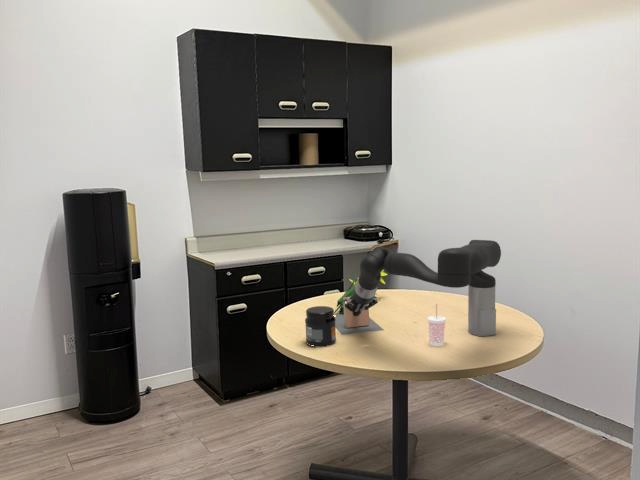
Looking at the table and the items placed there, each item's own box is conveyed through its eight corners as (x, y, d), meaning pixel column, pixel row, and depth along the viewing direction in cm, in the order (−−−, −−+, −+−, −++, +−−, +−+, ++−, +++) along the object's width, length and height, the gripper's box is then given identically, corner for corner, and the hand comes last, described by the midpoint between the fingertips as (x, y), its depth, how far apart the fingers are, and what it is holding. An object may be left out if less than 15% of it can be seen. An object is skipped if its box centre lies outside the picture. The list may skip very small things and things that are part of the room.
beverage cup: (424, 342, 202) (423, 302, 200) (439, 339, 204) (439, 300, 202) (433, 348, 197) (433, 307, 194) (449, 345, 199) (449, 304, 196)
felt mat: (384, 331, 216) (384, 330, 216) (342, 335, 212) (342, 334, 212) (362, 312, 241) (362, 311, 241) (324, 316, 237) (324, 315, 237)
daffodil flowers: (318, 313, 244) (356, 275, 271) (348, 333, 240) (383, 293, 267) (331, 284, 234) (369, 248, 261) (362, 304, 230) (397, 265, 257)
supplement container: (339, 339, 209) (338, 306, 207) (331, 349, 199) (330, 314, 197) (310, 337, 212) (309, 305, 210) (302, 347, 202) (300, 313, 200)
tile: (369, 325, 221) (367, 295, 221) (346, 327, 219) (344, 298, 219) (367, 324, 223) (365, 295, 223) (344, 326, 221) (342, 297, 221)
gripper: (349, 300, 202) (340, 324, 216) (386, 296, 205) (375, 320, 219) (344, 281, 206) (336, 307, 220) (380, 278, 209) (370, 303, 223)
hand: (355, 314), depth 219 cm, fingers closed
